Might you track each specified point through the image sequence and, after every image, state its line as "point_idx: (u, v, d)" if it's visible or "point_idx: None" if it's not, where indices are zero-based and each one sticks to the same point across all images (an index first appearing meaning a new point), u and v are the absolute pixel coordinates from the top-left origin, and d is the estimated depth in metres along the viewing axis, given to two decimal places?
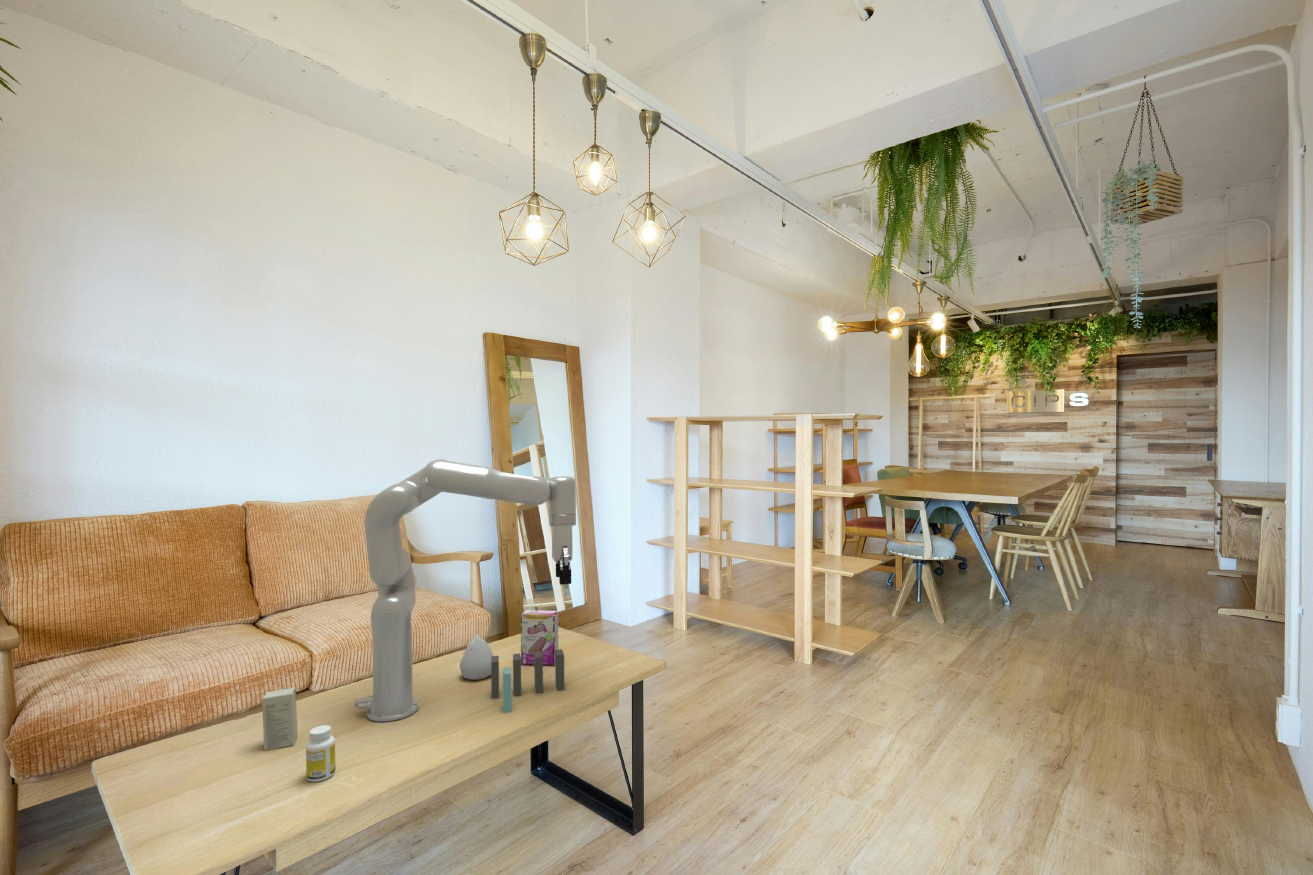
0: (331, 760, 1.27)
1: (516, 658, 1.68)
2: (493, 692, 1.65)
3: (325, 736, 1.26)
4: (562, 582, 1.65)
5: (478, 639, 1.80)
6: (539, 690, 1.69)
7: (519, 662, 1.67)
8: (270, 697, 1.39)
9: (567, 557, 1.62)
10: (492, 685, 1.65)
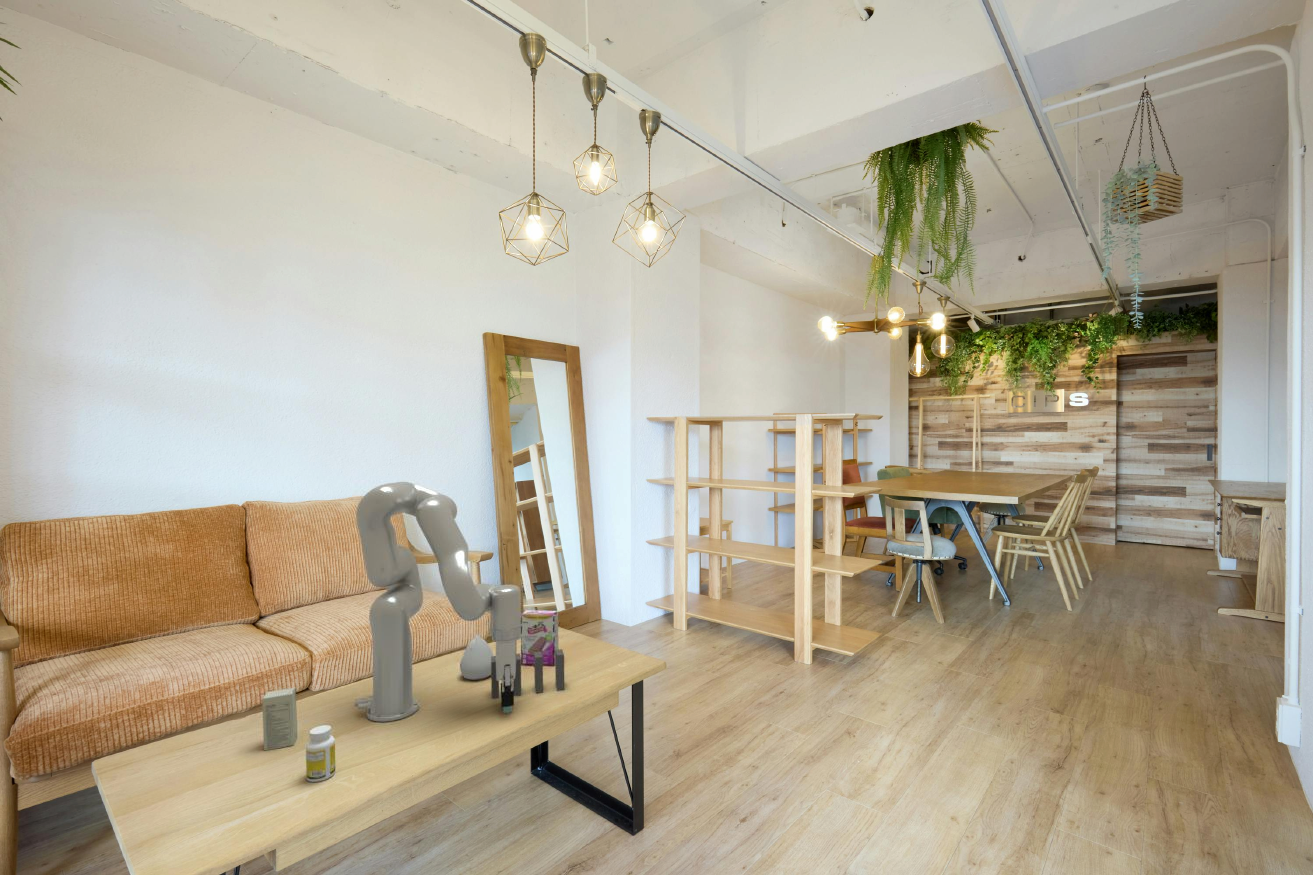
0: (331, 760, 1.27)
1: (516, 658, 1.68)
2: (493, 692, 1.65)
3: (325, 736, 1.26)
4: (504, 704, 1.56)
5: (478, 639, 1.80)
6: (539, 690, 1.69)
7: (519, 662, 1.67)
8: (270, 697, 1.39)
9: (508, 684, 1.52)
10: (492, 685, 1.65)
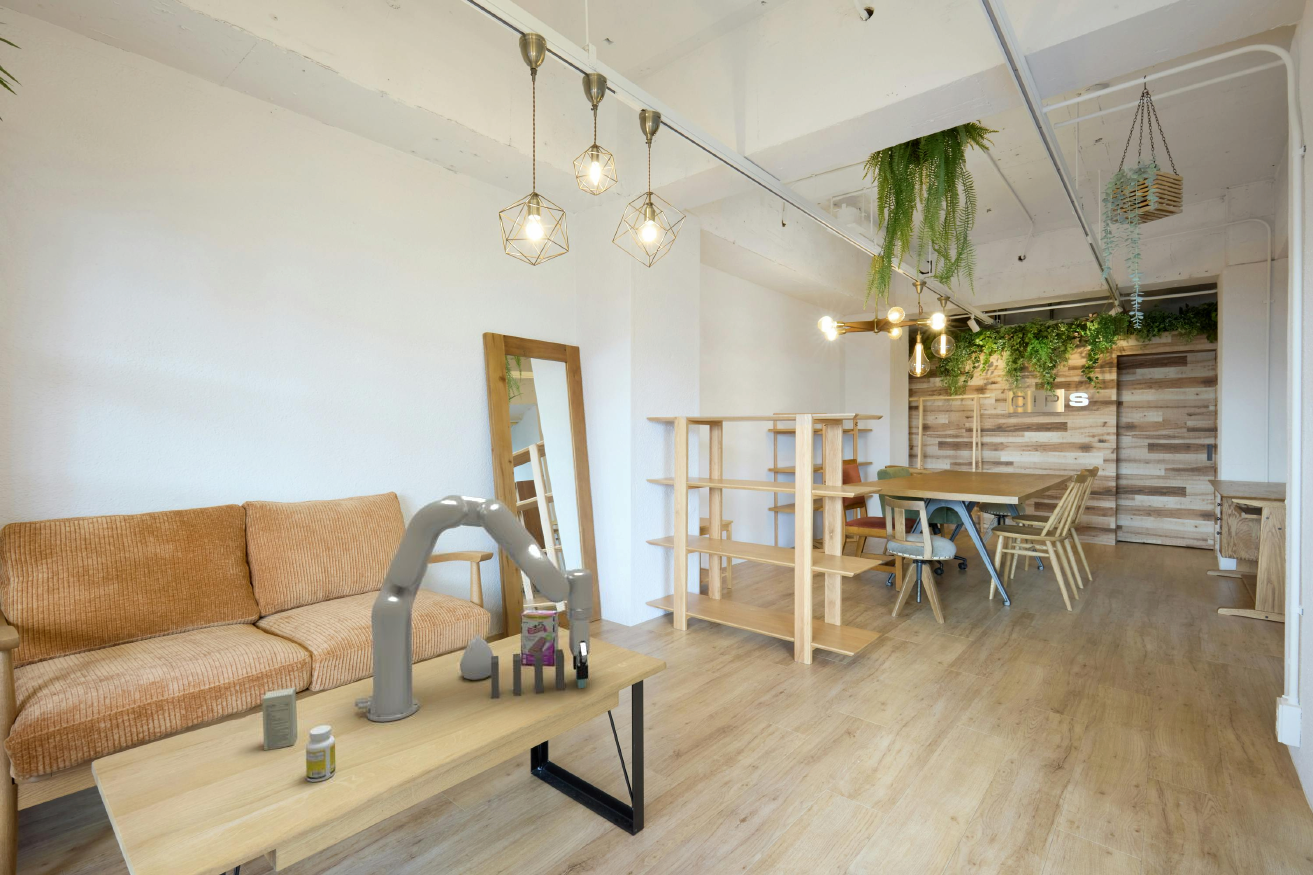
0: (331, 760, 1.27)
1: (516, 658, 1.68)
2: (493, 692, 1.65)
3: (325, 736, 1.26)
4: (579, 677, 1.70)
5: (478, 639, 1.80)
6: (539, 690, 1.69)
7: (519, 662, 1.67)
8: (270, 697, 1.39)
9: (585, 656, 1.67)
10: (492, 685, 1.65)
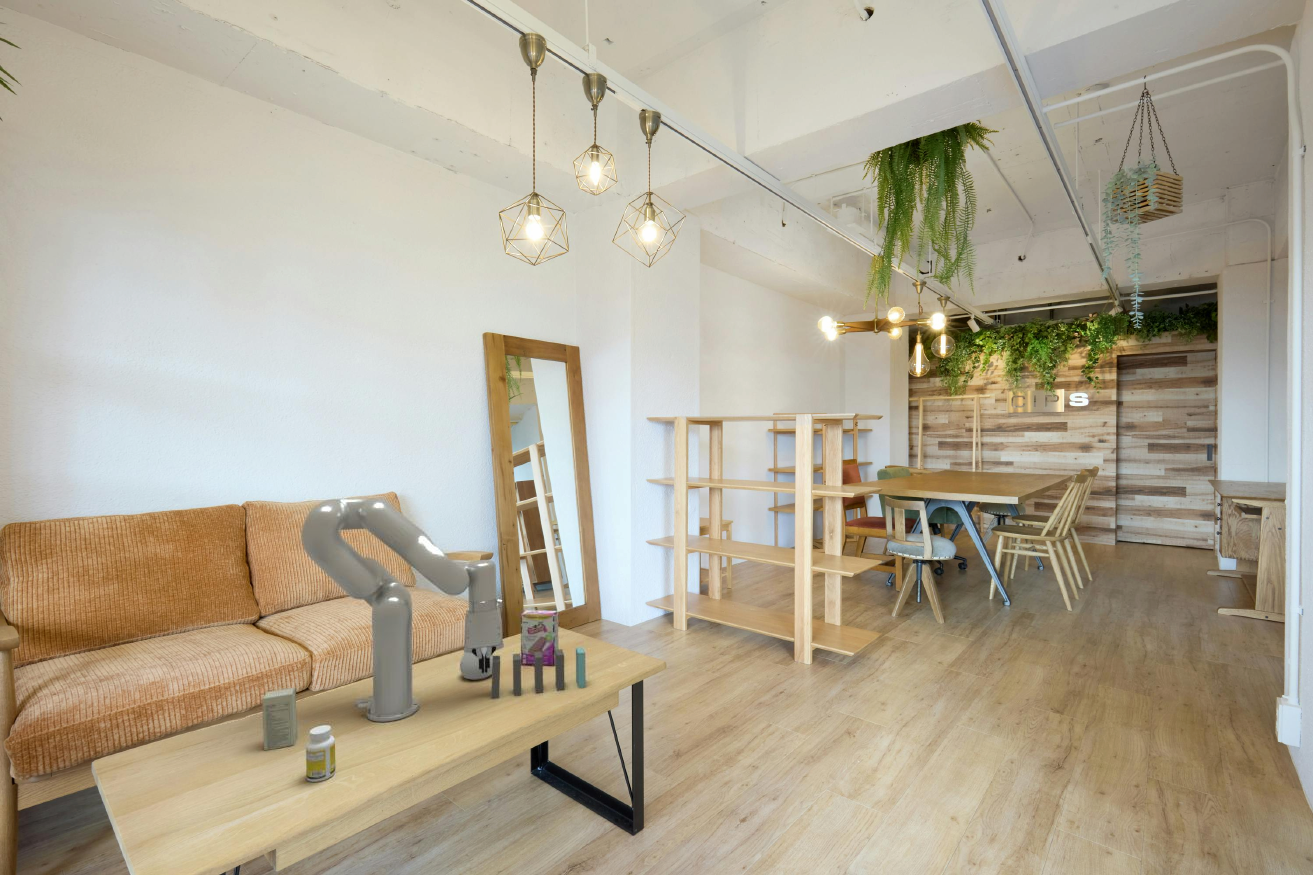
0: (331, 760, 1.27)
1: (516, 658, 1.68)
2: (493, 692, 1.65)
3: (325, 736, 1.26)
4: None
5: None
6: (539, 690, 1.69)
7: (519, 662, 1.67)
8: (270, 697, 1.39)
9: None
10: (493, 685, 1.65)
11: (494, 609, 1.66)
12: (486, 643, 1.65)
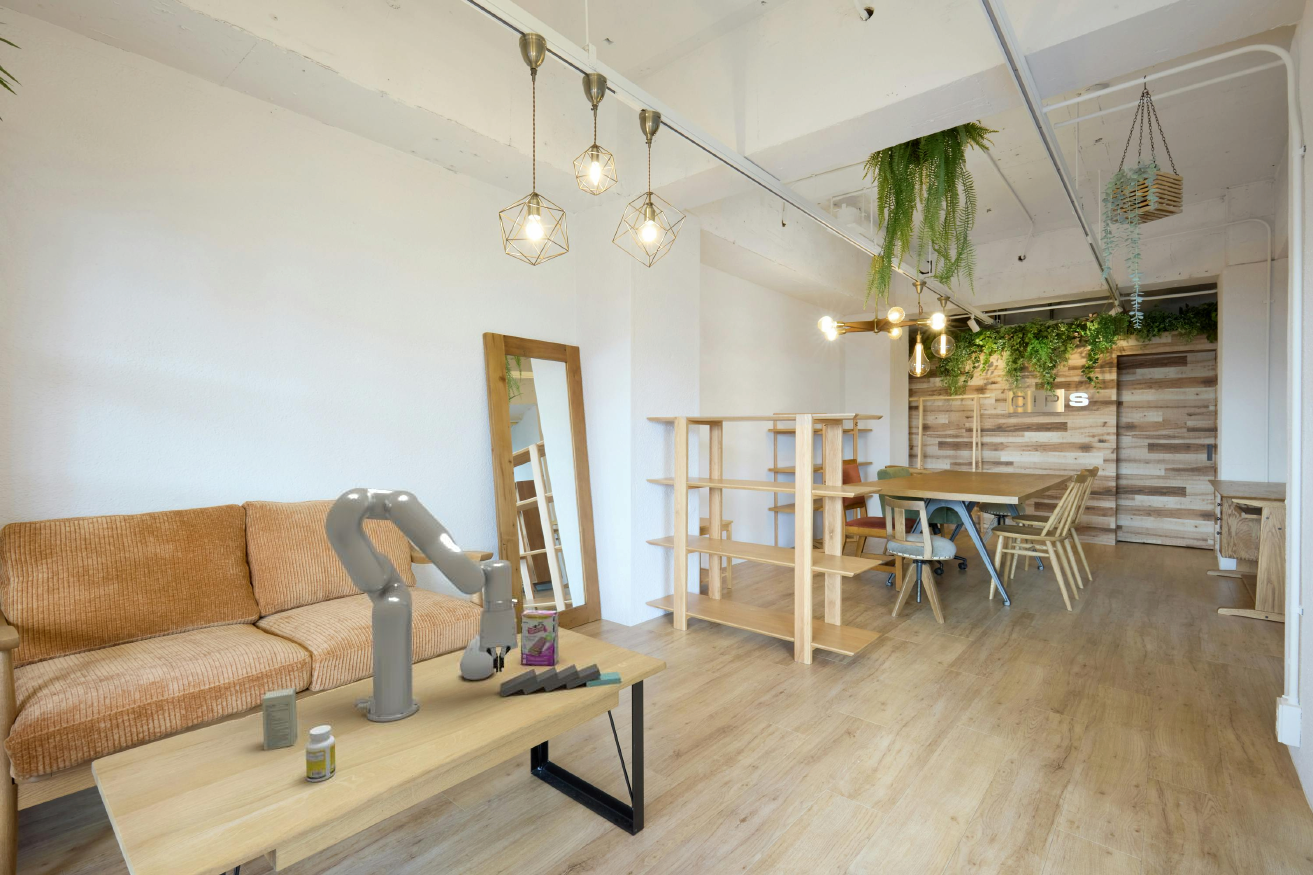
0: (331, 760, 1.27)
1: None
2: (506, 689, 1.66)
3: (325, 736, 1.26)
4: None
5: (478, 639, 1.80)
6: (547, 688, 1.69)
7: (555, 679, 1.70)
8: (270, 697, 1.39)
9: None
10: (513, 685, 1.67)
11: (509, 609, 1.67)
12: (501, 643, 1.66)
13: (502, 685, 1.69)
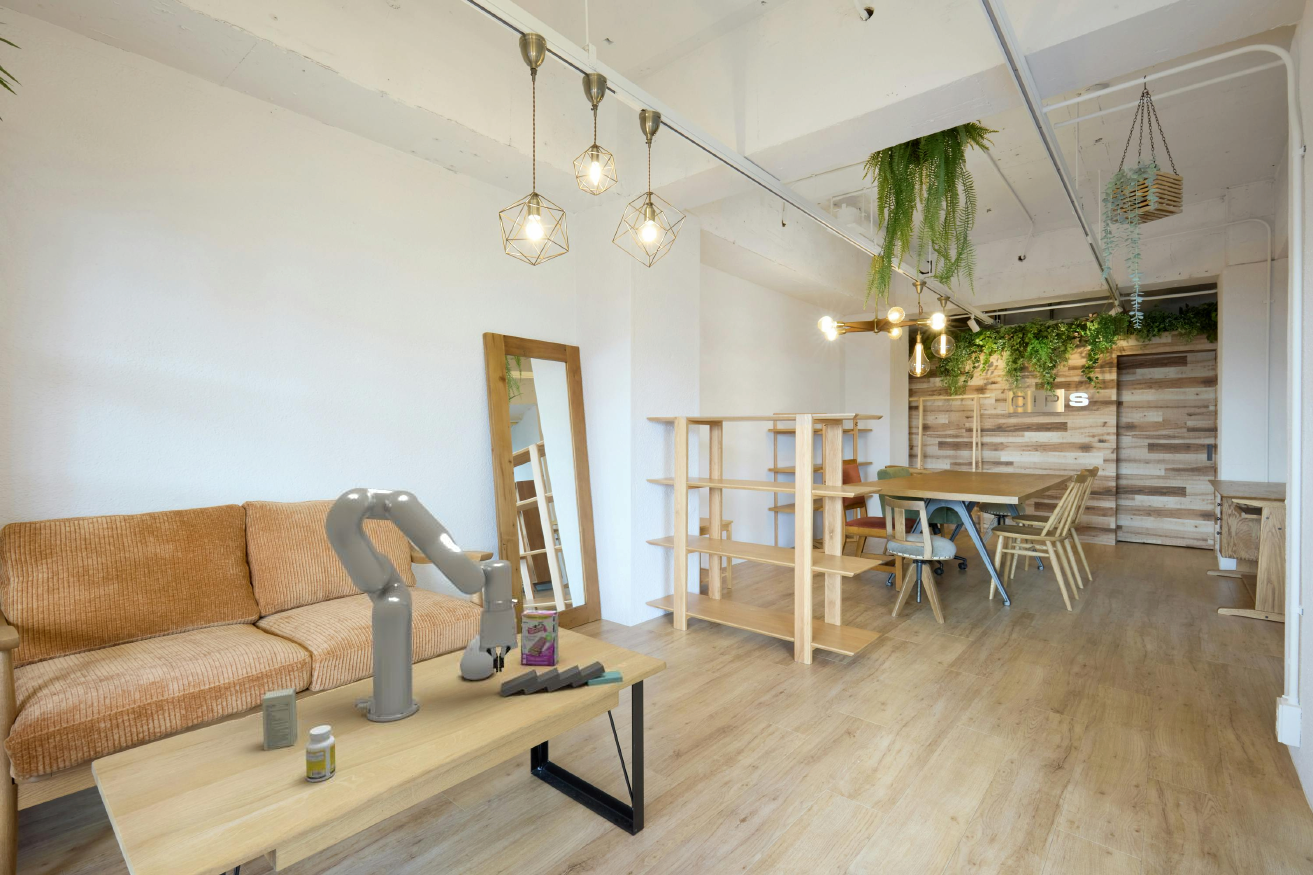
0: (331, 760, 1.27)
1: (558, 674, 1.70)
2: (507, 689, 1.66)
3: (325, 736, 1.26)
4: None
5: (478, 639, 1.80)
6: (550, 688, 1.69)
7: (556, 679, 1.69)
8: (270, 697, 1.39)
9: None
10: (513, 685, 1.67)
11: (509, 609, 1.67)
12: (501, 643, 1.66)
13: (503, 684, 1.69)
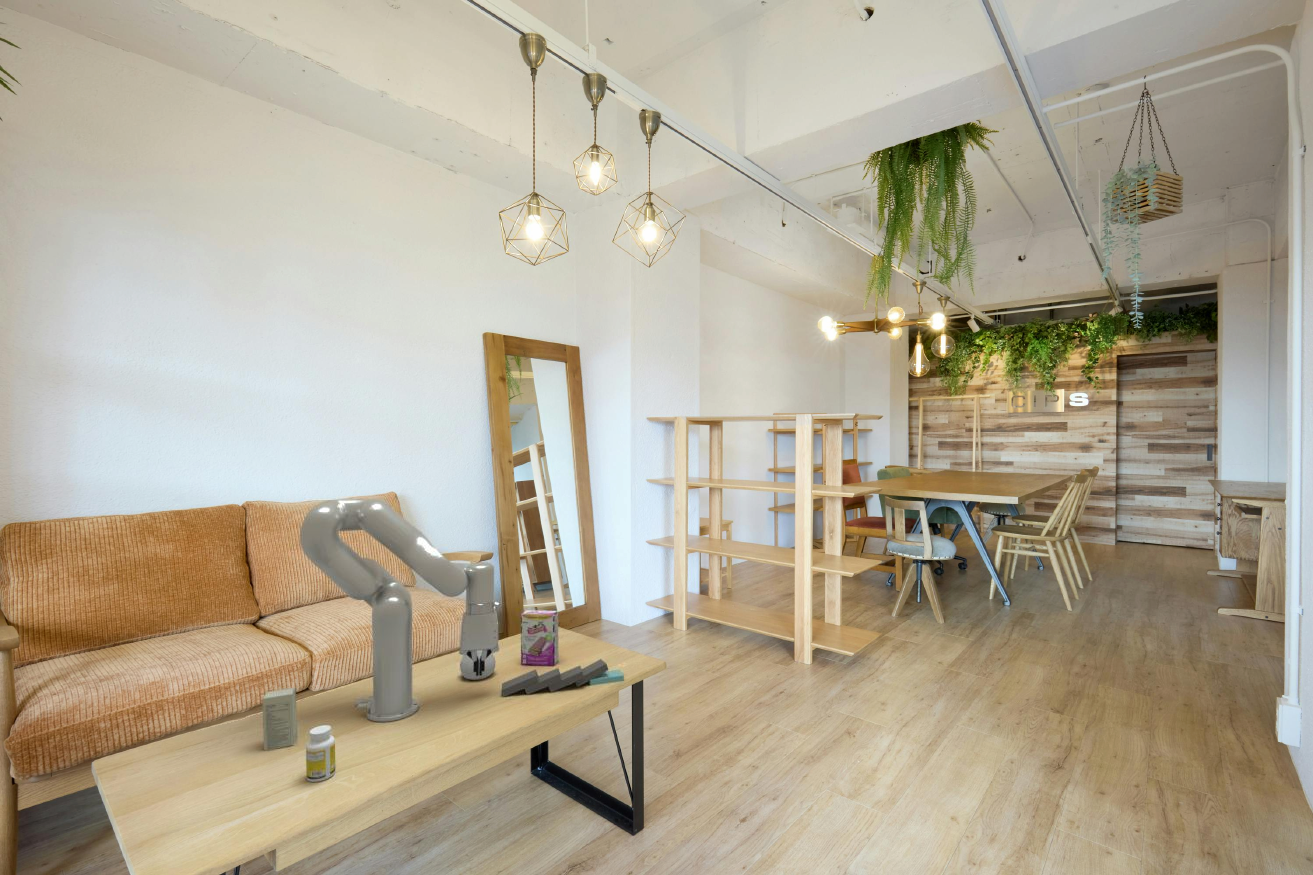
0: (331, 760, 1.27)
1: (559, 675, 1.70)
2: (507, 689, 1.67)
3: (325, 736, 1.26)
4: None
5: None
6: (551, 688, 1.69)
7: (557, 680, 1.69)
8: (270, 697, 1.39)
9: None
10: (514, 685, 1.67)
11: (491, 612, 1.66)
12: (482, 646, 1.65)
13: (504, 684, 1.69)
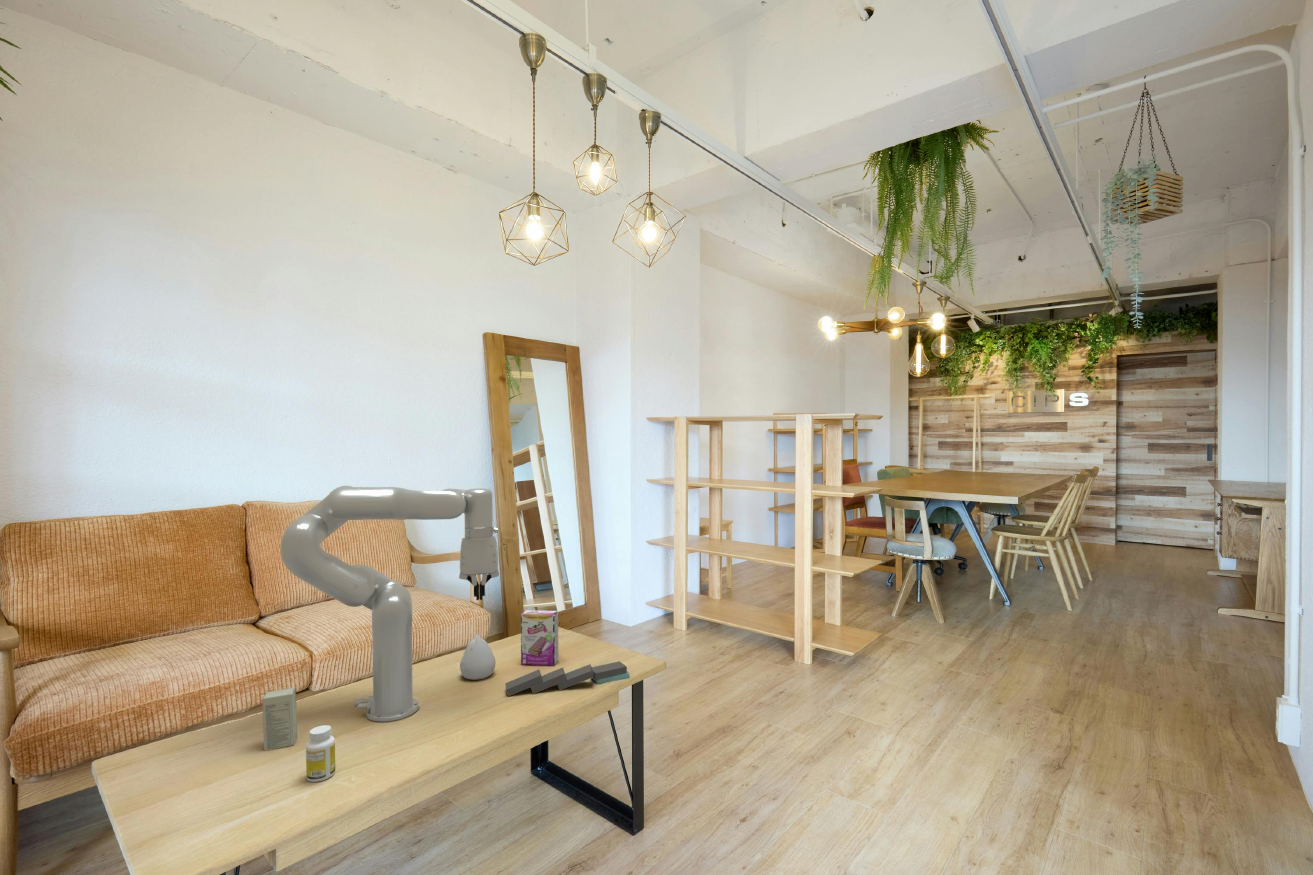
0: (331, 760, 1.27)
1: None
2: (512, 689, 1.67)
3: (325, 736, 1.26)
4: None
5: (478, 639, 1.80)
6: (560, 686, 1.70)
7: (563, 679, 1.70)
8: (270, 697, 1.39)
9: None
10: (518, 685, 1.67)
11: (490, 536, 1.66)
12: (481, 570, 1.65)
13: (508, 684, 1.70)
